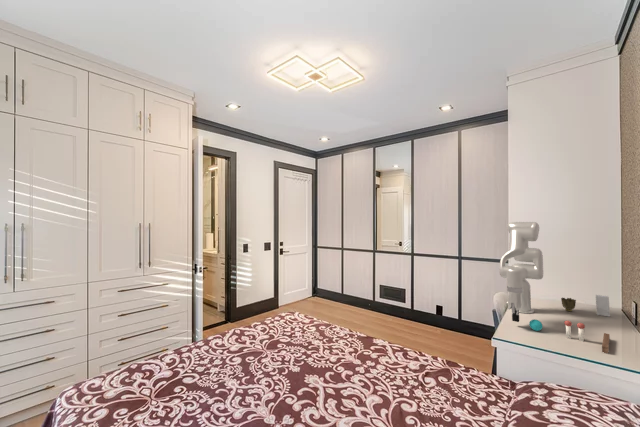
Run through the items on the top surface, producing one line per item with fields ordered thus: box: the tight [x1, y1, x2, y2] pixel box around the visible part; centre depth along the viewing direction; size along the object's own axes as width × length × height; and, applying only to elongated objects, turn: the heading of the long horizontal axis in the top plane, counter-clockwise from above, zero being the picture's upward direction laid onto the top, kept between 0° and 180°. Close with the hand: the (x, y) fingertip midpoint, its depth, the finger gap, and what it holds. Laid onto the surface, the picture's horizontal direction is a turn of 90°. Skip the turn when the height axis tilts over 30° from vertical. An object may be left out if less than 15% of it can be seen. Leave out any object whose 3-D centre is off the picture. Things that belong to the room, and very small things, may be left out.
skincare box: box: [595, 294, 611, 317], centre depth 181 cm, size 6×4×12 cm
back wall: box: [601, 332, 611, 354], centre depth 141 cm, size 2×20×3 cm, turn 133°
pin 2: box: [576, 322, 586, 342], centre depth 147 cm, size 3×3×9 cm
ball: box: [528, 318, 543, 332], centre depth 161 cm, size 6×6×6 cm
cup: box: [560, 297, 577, 313], centre depth 190 cm, size 8×7×8 cm
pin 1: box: [564, 320, 573, 339], centre depth 151 cm, size 3×3×9 cm
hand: (515, 321), depth 168 cm, fingers closed
